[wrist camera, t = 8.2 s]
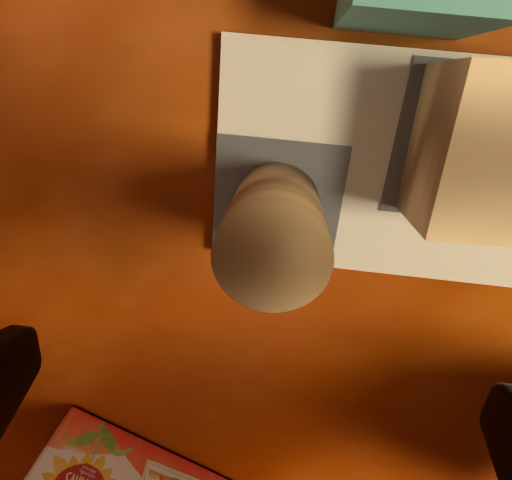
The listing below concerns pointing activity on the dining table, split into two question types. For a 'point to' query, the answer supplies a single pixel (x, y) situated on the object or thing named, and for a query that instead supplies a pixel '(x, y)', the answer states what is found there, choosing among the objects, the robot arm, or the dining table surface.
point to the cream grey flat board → (339, 145)
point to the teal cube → (424, 17)
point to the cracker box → (108, 455)
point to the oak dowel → (273, 241)
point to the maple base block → (461, 154)
